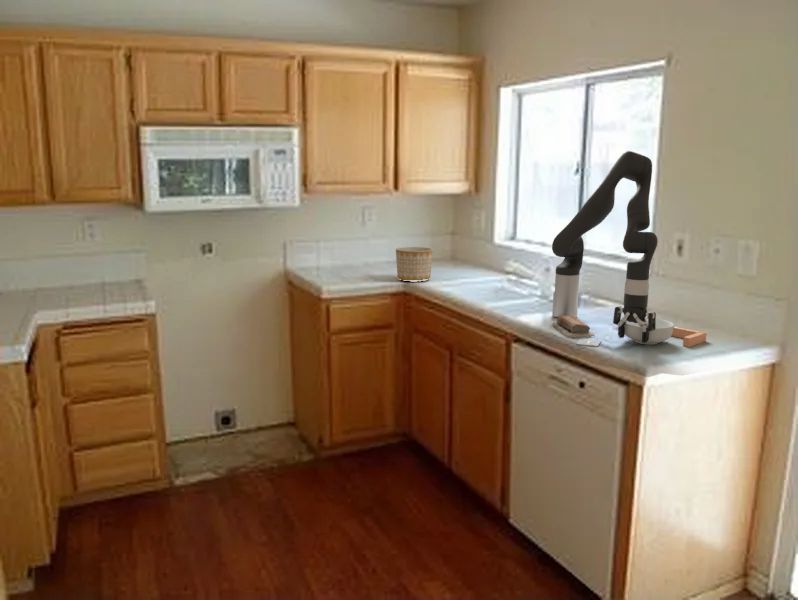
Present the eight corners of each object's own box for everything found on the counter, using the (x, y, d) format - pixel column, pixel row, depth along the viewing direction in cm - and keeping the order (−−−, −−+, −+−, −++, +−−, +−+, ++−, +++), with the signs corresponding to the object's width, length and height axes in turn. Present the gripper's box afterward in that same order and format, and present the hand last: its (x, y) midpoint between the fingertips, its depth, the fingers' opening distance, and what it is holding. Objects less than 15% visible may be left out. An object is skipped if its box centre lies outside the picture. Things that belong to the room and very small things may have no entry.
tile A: (576, 344, 228) (576, 343, 228) (580, 339, 235) (580, 338, 235) (597, 347, 226) (597, 345, 225) (600, 342, 232) (601, 340, 232)
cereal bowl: (653, 351, 221) (655, 330, 219) (610, 340, 234) (611, 320, 232) (682, 343, 231) (684, 322, 229) (639, 333, 244) (640, 314, 242)
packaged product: (552, 314, 255) (577, 313, 256) (551, 326, 256) (577, 326, 257) (568, 325, 237) (595, 324, 238) (567, 338, 238) (594, 338, 239)
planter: (392, 277, 364) (392, 247, 360) (427, 276, 367) (428, 246, 364) (399, 283, 345) (399, 251, 342) (436, 282, 348) (436, 250, 345)
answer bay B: (688, 347, 226) (689, 338, 225) (622, 332, 245) (622, 324, 244) (705, 341, 233) (706, 332, 233) (640, 328, 252) (640, 319, 252)
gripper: (662, 294, 220) (658, 342, 223) (623, 288, 231) (620, 334, 234) (649, 296, 216) (645, 346, 219) (610, 290, 227) (607, 337, 230)
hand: (632, 339), depth 227 cm, fingers open, 8 cm apart
